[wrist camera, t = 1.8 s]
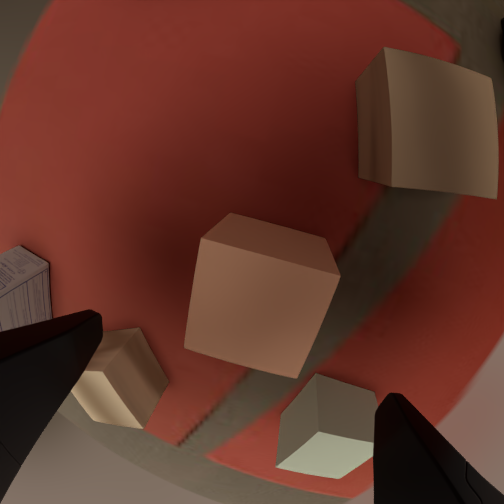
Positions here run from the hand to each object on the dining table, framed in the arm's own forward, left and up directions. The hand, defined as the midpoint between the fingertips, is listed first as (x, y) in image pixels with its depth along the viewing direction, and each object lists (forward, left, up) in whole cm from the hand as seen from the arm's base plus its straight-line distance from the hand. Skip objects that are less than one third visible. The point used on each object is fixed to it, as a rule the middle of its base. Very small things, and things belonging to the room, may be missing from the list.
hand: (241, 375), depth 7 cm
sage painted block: (-7, +9, -8) cm, 14 cm away
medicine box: (+18, +8, -8) cm, 21 cm away
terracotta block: (0, 0, -8) cm, 8 cm away
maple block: (+8, +10, -8) cm, 15 cm away
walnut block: (-5, -9, -8) cm, 13 cm away
